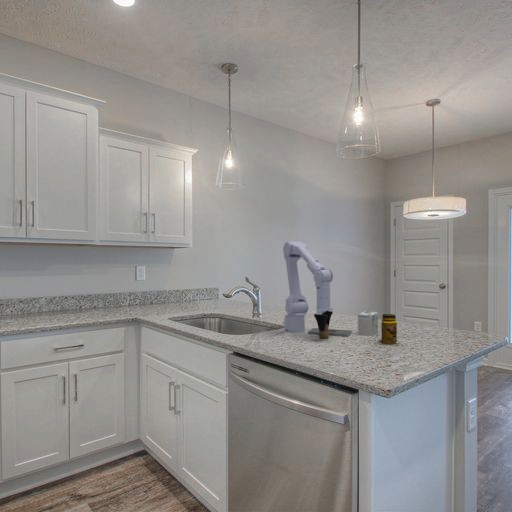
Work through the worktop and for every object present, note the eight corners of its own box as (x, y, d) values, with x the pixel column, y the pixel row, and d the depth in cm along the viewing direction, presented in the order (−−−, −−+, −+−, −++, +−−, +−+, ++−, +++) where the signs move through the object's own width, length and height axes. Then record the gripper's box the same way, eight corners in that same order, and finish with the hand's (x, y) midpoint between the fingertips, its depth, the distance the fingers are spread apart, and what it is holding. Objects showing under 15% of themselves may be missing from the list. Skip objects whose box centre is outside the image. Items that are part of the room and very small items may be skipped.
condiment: (396, 345, 152) (395, 316, 152) (374, 343, 156) (374, 314, 156) (399, 342, 158) (398, 314, 158) (378, 340, 162) (378, 312, 162)
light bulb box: (363, 333, 177) (363, 310, 177) (378, 335, 174) (378, 311, 174) (357, 337, 168) (357, 313, 168) (372, 339, 164) (372, 314, 164)
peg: (318, 339, 159) (317, 324, 159) (320, 337, 162) (320, 323, 162) (327, 339, 157) (327, 325, 157) (329, 337, 161) (329, 323, 161)
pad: (310, 342, 158) (310, 339, 159) (314, 339, 165) (314, 336, 165) (333, 344, 154) (333, 341, 154) (337, 341, 161) (337, 337, 161)
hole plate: (307, 337, 170) (307, 331, 170) (313, 333, 179) (313, 327, 179) (348, 340, 162) (348, 334, 163) (351, 335, 172) (351, 330, 172)
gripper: (328, 299, 152) (329, 333, 151) (336, 296, 165) (336, 327, 165) (311, 299, 154) (312, 331, 154) (320, 295, 168) (320, 326, 168)
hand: (323, 329), depth 160 cm, fingers open, 7 cm apart
